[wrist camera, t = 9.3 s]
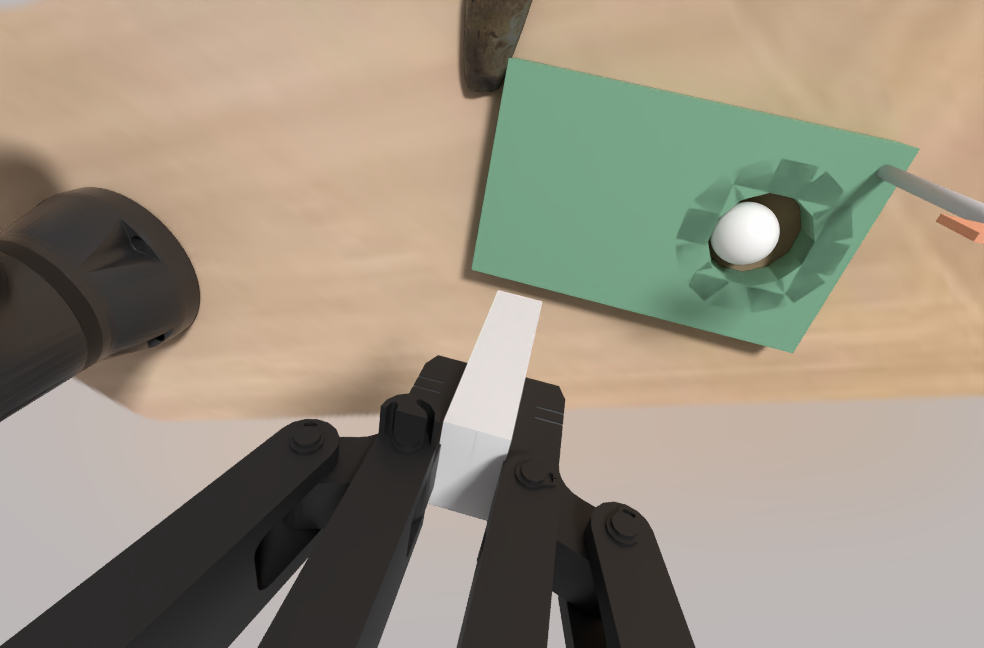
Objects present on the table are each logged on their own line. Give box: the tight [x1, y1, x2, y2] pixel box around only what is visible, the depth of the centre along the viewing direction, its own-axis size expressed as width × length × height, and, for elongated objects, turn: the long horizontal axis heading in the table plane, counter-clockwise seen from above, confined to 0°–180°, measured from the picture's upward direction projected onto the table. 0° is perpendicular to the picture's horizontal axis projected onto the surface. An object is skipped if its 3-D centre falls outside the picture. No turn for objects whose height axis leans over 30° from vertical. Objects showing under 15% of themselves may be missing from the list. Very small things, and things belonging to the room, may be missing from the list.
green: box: [471, 58, 984, 353], centre depth 26 cm, size 24×14×16 cm, turn 80°
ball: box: [710, 202, 780, 265], centre depth 31 cm, size 4×4×4 cm
